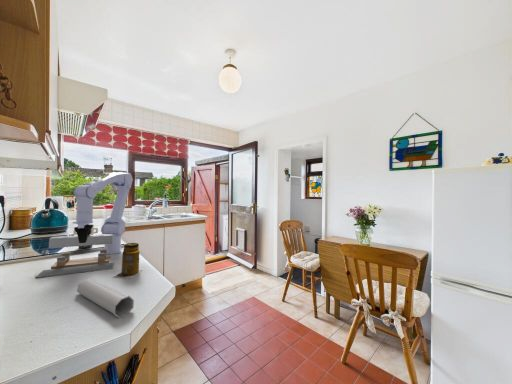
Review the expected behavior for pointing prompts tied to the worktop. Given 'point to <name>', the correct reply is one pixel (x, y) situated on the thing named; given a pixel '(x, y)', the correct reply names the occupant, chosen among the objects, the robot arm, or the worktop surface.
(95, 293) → the tube
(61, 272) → the mat
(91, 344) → the worktop surface
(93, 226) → the character mug
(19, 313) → the worktop surface
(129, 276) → the condiment
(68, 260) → the rail stand
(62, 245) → the rail
